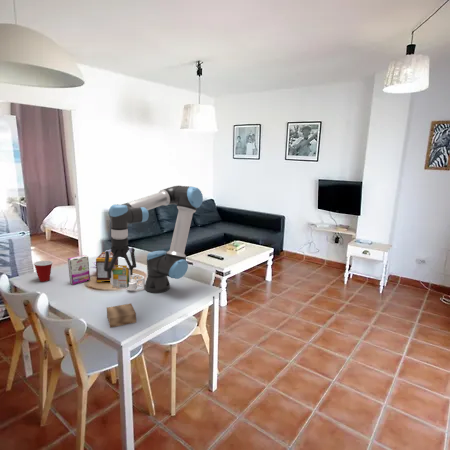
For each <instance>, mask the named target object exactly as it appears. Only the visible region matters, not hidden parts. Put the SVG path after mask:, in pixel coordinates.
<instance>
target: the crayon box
mask: <svg viewBox="0 0 450 450" xmlns="http://www.w3.org/2000/svg"><path fill="white" fill-rule="evenodd" d="M117 266H118V267H117ZM112 272H113V285H111V286H112V287H111V288H112V289H126V288H128V286H129V267H128V264H126V265H125V264H124V265H123V264H121V265H120V264H118V265H114V266H113V268H112Z"/></svg>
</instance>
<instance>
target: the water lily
mask: <svg viewBox="0 0 450 450" xmlns="http://www.w3.org/2000/svg"><path fill="white" fill-rule="evenodd" d="M92 264H93V265H94V266H90V268H92V269H96V261H92Z"/></svg>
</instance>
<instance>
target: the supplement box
mask: <svg viewBox="0 0 450 450" xmlns="http://www.w3.org/2000/svg"><path fill="white" fill-rule="evenodd" d="M112 257H113V253H112V252H110V255H109V261H108V267H109V265H110V262H111V260H112ZM95 262H96V268H95V271H96V273H95V274H96V275H95V276H96V283H102V282H101V281H110V278H108V272H107V271H104V263H105V251H103V252H101V253H100V254H99V255H98V256H97V257H96V259H95ZM114 265H119V257H117V259H116V261H115V263H114ZM117 267H119V266H117Z"/></svg>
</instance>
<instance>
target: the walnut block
mask: <svg viewBox="0 0 450 450" xmlns="http://www.w3.org/2000/svg"><path fill="white" fill-rule="evenodd" d="M106 318H107V321H108V325H109V328H115V327H120V326H125V325H129V324H135V323H137V313H136V311H135V309H134V306H133V304H132V303H126V304H119V305H114V306H109V307H106Z"/></svg>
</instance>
